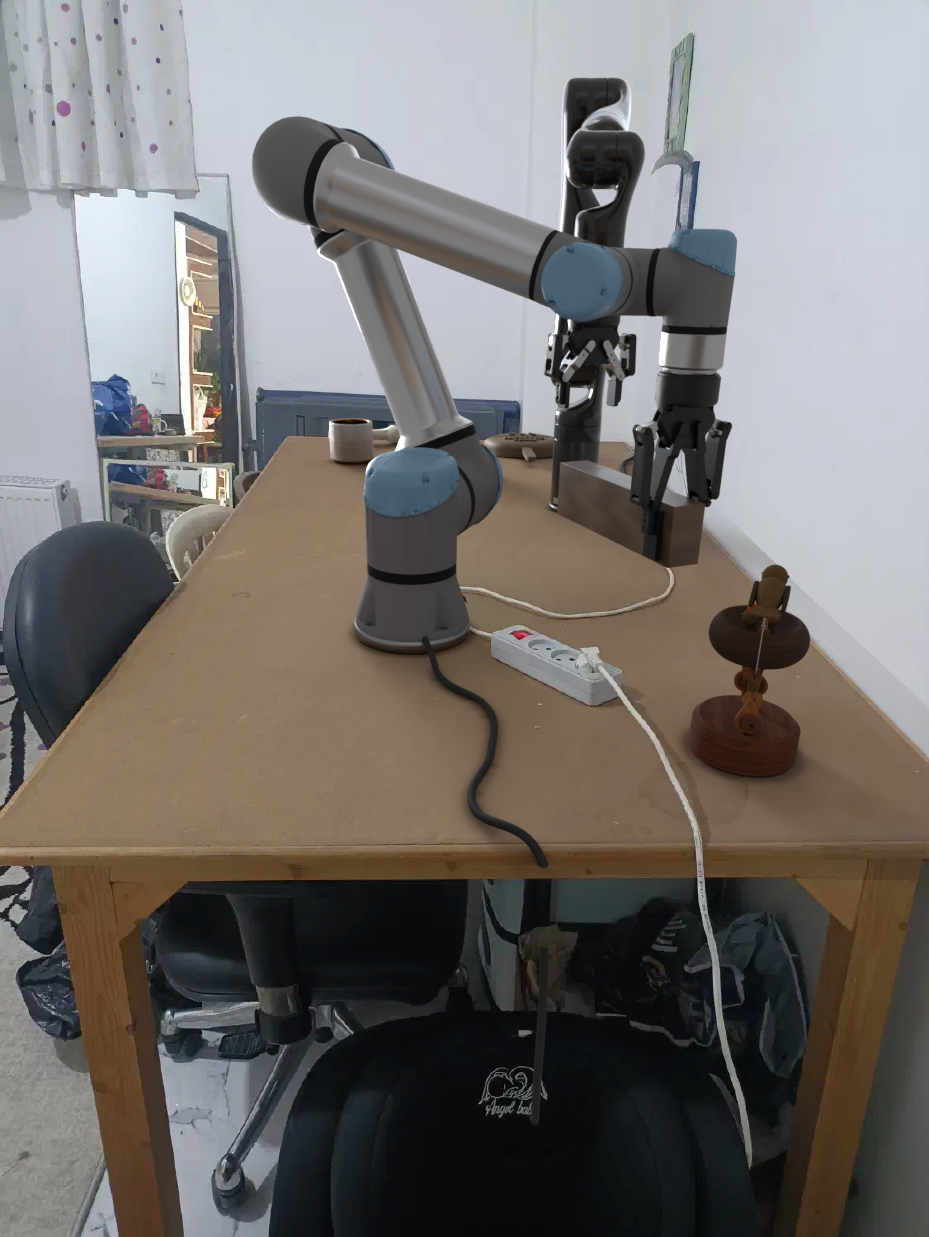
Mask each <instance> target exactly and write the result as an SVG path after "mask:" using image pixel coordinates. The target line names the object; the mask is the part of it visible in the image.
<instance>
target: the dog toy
mask: <svg viewBox="0 0 929 1237" xmlns="http://www.w3.org/2000/svg"><path fill="white" fill-rule="evenodd" d="M327 439H328V442H329V443H330V427H329V429H328V435H327ZM374 440H376V441H378V440H379V441H386V442H389V443H391V444H398V442H399V440H400V433H399V430H398V428H397V425H396V424H391V425H389V426H388V427H385V428H378V429H377V428H375V429H374V428H373V441H374Z"/></svg>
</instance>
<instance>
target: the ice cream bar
mask: <svg viewBox="0 0 929 1237" xmlns="http://www.w3.org/2000/svg"><path fill="white" fill-rule="evenodd" d="M483 444H484V445H485V446H487V447H489V448H490V449H491V450H492V451H493V452H494V454H495V455H496V456H497V457H503V458H504V457H505V458H523V459H525V461H526V462H532V463H533V462H536V461H537V459H538V458H550V457H553V445H554V436H552V435H547V434H542V433H534V432H528V433H525V432H523V433H522V432H519V433H517V432H514V431H513V432H506V433H500V434H496V435H495V434H494V435H492V436H489V437H487V438H485V440H484V442H483Z"/></svg>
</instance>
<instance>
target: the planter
mask: <svg viewBox="0 0 929 1237" xmlns="http://www.w3.org/2000/svg"><path fill="white" fill-rule="evenodd" d="M328 424H329V425H328V426H329V428H330V442H329V453H330V454H329V455H330V456H329V457H330V459H331V460H332V461H333V462H335V463H341V464H363V463H367V462H371V461H372V460H373V459H374V458H375V457H374V456H375V455H374V452H375V451H374V450H375V449H374V440H373V429H374V428H373V420H371V419H369V418H362V417H361V418H360V417H342V418H341V417H340V418H335V419H334V418H333V419H331V420H329V421H328Z"/></svg>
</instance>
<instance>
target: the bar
mask: <svg viewBox="0 0 929 1237" xmlns="http://www.w3.org/2000/svg"><path fill="white" fill-rule="evenodd" d="M631 480H632V475H629V474H627V473H626V474H623V473H622V471H618V470H615V469H613V468H610V467H607V466H604V465H601V464H599V463H598V464H596V463H593V462H591V461H588V460H585V461H572V462H561V463H560V477H559V494H558V510H557V511H556V514H557V515H559V516H561V517H563V518H565V519H567V520H569V521H571V522H573V523H575V524H577V525H579V526H581V527H583V528H586V529H587V530H589V531H591V532H593V533H595V534H598V535H600V536H601V537H603V538H606V539H607V540H610V541H612V542H614V543H616V545H617V544H618V545H619V546H622V547H624V548H626V549H628V550H630V551H632V552H634V553H636V554H638V555H640V556H642V557H643V558H646V559H648V560H650V561H652V562H654V563H656V564H658V565H660V566H662V567H664V568H666V569H672V568H679V567H686V566H691V565H698V564H699V558H700V557H699V556H700V549H701V541H702V534H703V527H704V518H705V510H706V507H705V503H702V502H700V501H697V500H694V499H692V498H689V497H688V496H686V495H684V494H680V493H678V492H675V491H672V490H670V489H667V488H666V490H665V493H664V496H663V499H662V503H661V506H660V508H659V509H660V510H663V511H665V515H664V524H663V533H662V542H661V551H660V560H659V561H653V560H651V559H649V558H647V557H645V556H643V555H642V553H643V543H644V533H642V532H641V522H642V512H643V509H642V507H641V506H638V505H636V504H633V503H631V502H630V490H631Z"/></svg>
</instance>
